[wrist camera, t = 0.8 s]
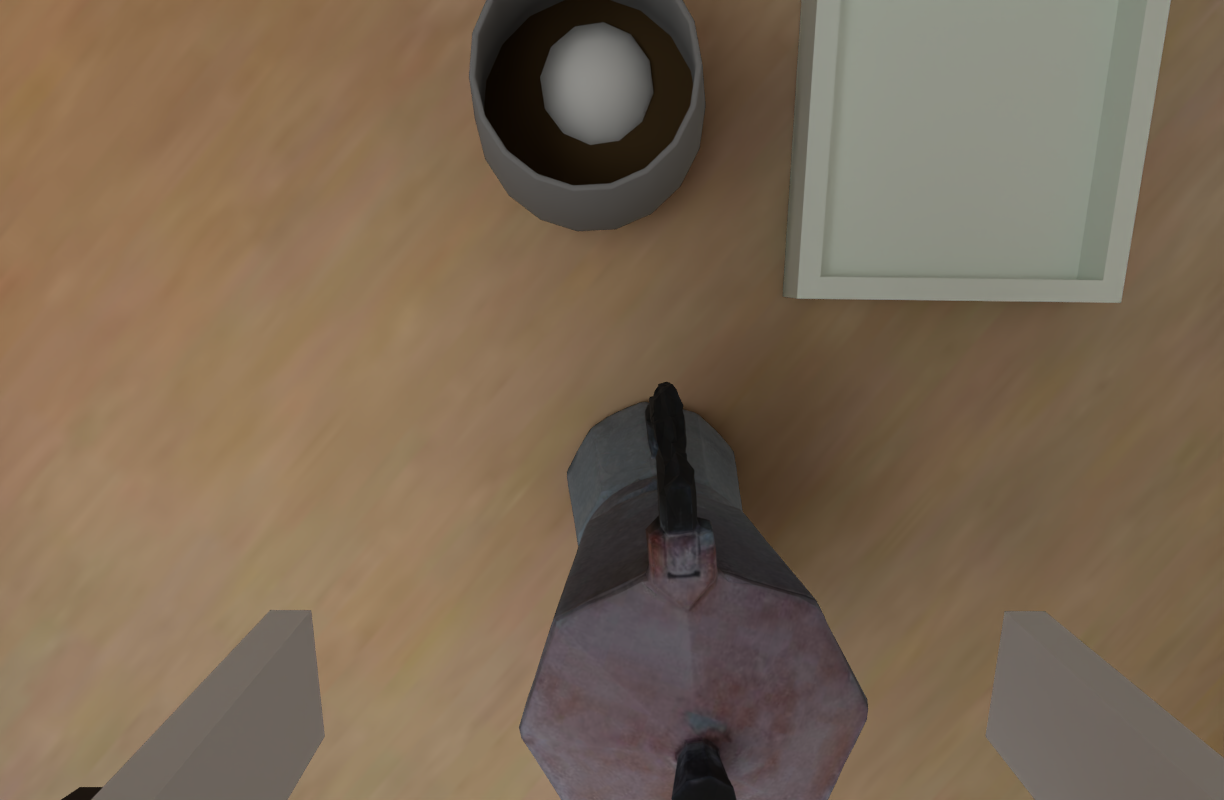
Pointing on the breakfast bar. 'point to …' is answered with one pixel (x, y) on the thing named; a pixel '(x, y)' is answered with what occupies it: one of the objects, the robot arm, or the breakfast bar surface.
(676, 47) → the cup
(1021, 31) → the tray
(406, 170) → the breakfast bar surface
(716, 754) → the moka pot
